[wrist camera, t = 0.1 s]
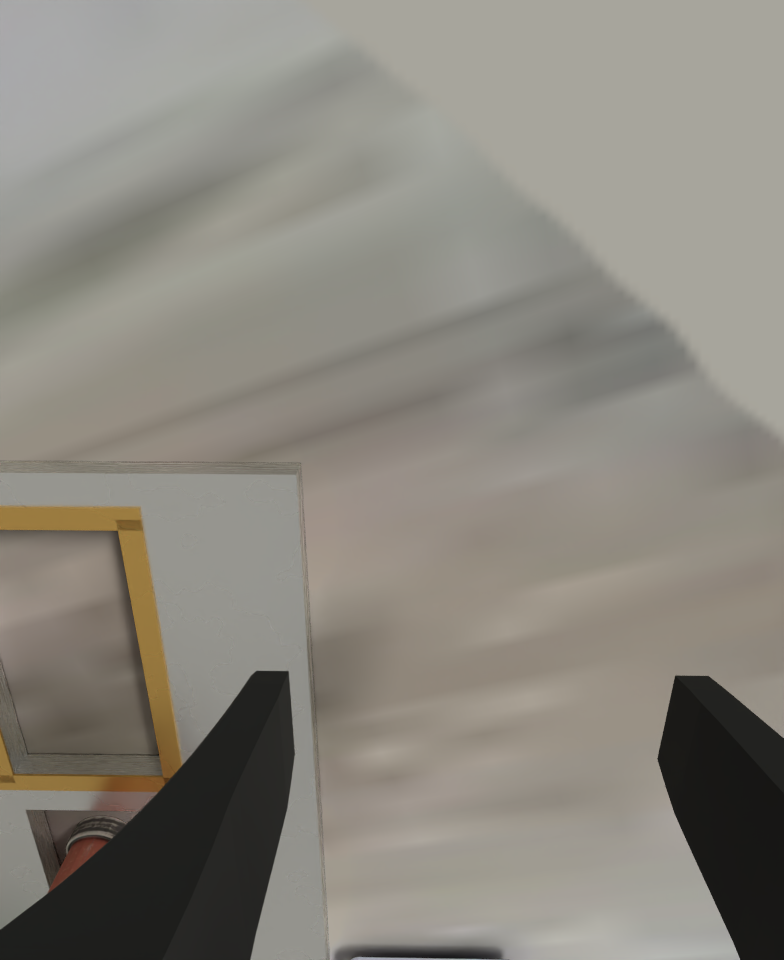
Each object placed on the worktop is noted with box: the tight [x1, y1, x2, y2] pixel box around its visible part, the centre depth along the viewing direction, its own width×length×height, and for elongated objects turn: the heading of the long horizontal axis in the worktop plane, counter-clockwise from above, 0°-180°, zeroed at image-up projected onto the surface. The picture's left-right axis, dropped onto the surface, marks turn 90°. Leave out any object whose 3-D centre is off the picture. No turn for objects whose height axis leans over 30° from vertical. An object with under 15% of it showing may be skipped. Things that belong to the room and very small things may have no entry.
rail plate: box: [0, 461, 330, 960], centre depth 27 cm, size 28×18×1 cm, turn 0°
